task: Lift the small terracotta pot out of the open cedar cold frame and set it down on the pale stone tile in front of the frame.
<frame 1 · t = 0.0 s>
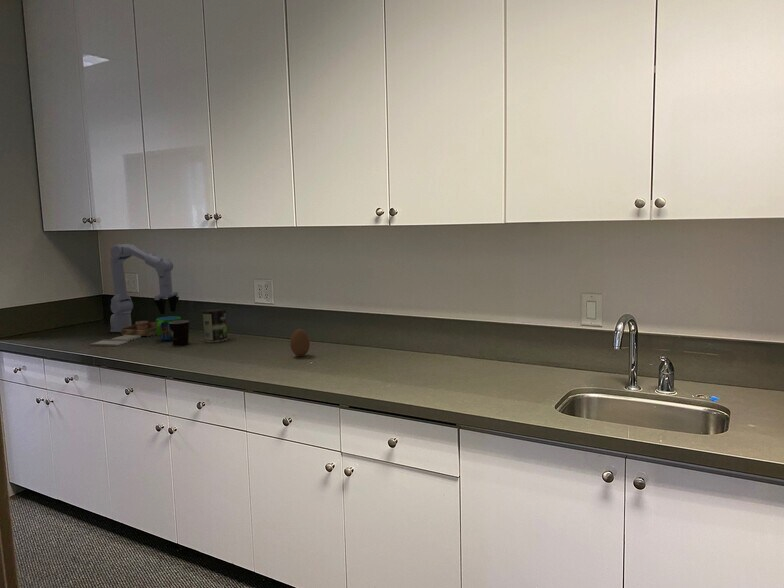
hand: (167, 312, 299), 10 cm above the worktop, tool pointing down, fingers open, 7 cm apart
cold frame: (142, 334, 300), on the worktop
egg: (300, 356, 243), on the worktop
clay pot: (142, 327, 299), in the cold frame
frame lid: (109, 344, 279), on the worktop
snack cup: (170, 339, 285), on the worktop
coffee mug: (180, 345, 272), on the worktop
coffee can: (216, 340, 280), on the worktop
stone tile: (126, 339, 288), on the worktop
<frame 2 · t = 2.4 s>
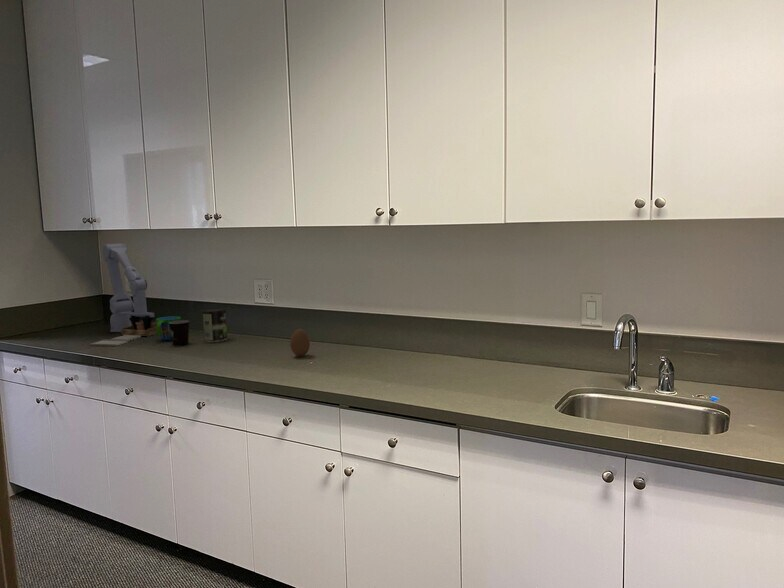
hand: (142, 331, 300), 1 cm above the worktop, tool pointing down, fingers closed on clay pot, 5 cm apart
clay pot: (142, 327, 299), in the cold frame, touching gripper
everything else where it was.
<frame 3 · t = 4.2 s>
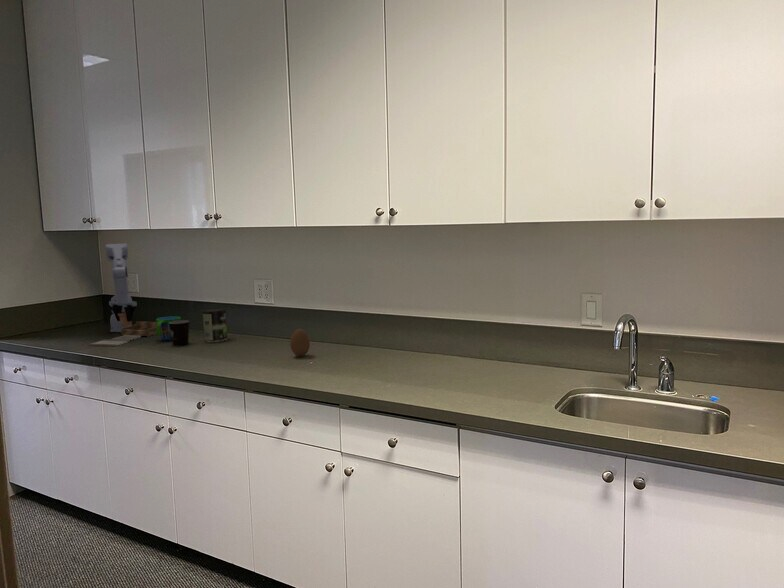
hand: (124, 321, 287), 9 cm above the worktop, tool pointing down, fingers closed on clay pot, 5 cm apart
clay pot: (125, 318, 288), point 10 cm above the worktop, tilted 7°, touching gripper
everything else where it was.
when the fingers open (4 cm above the worktop, at t = 6.0 s): clay pot stays where it is, resting on stone tile.
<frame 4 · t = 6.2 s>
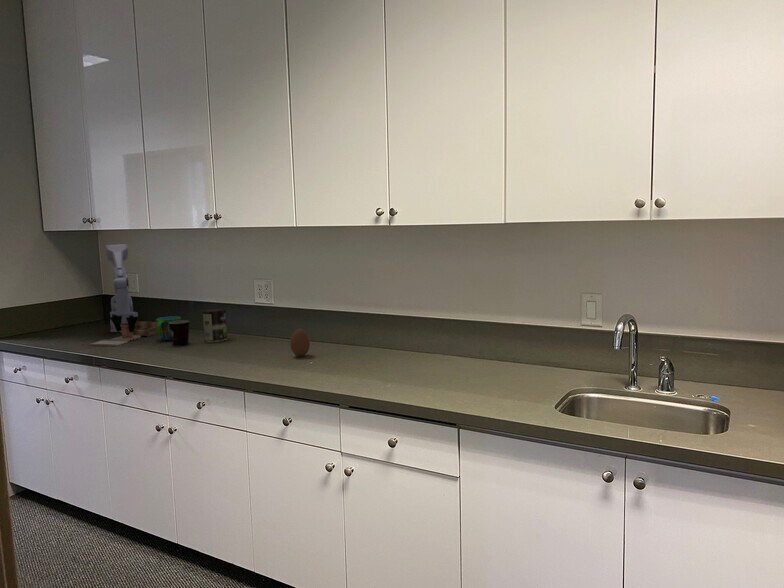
hand: (125, 331, 288), 4 cm above the worktop, tool pointing down, fingers open, 7 cm apart
clay pot: (127, 330, 289), on the stone tile, point 4 cm above the worktop
everything else where it was.
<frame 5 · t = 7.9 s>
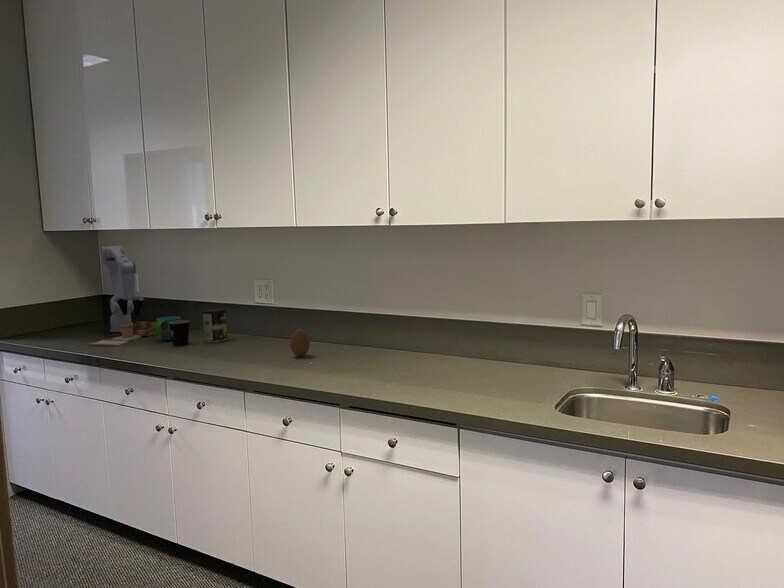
hand: (131, 315, 297), 10 cm above the worktop, tool pointing down, fingers open, 7 cm apart
nothing on the worktop moved.
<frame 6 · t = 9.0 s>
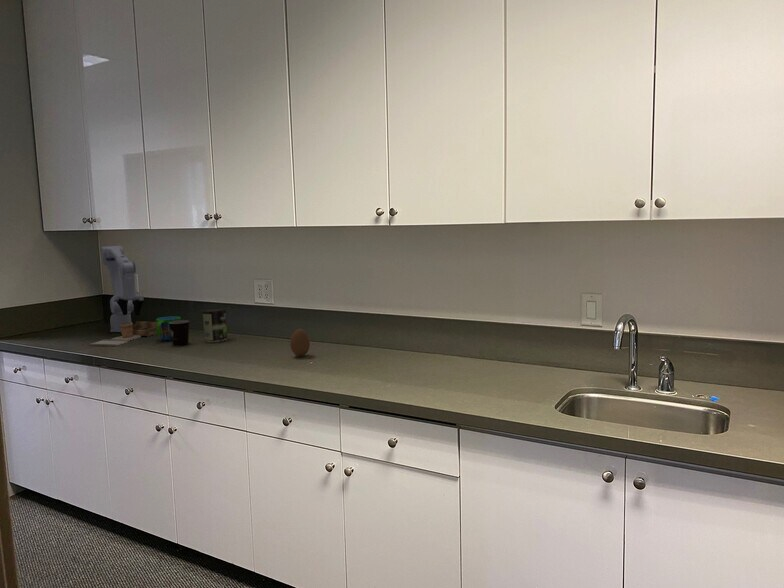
hand: (131, 315, 297), 10 cm above the worktop, tool pointing down, fingers open, 7 cm apart
nothing on the worktop moved.
at the end: clay pot inside the target area on the stone tile (1.0 cm from its centre), point 4.2 cm above the stone tile's base; clay pot tilted 2°; the gripper is holding nothing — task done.
